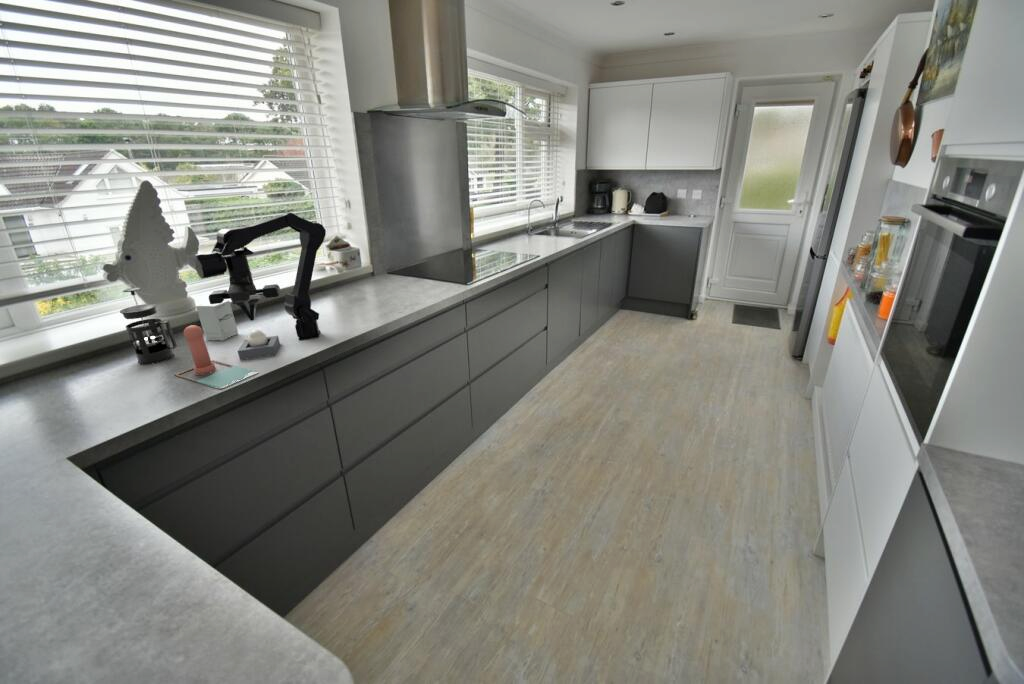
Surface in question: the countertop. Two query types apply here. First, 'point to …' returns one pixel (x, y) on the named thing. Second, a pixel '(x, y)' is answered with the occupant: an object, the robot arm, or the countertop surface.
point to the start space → (193, 368)
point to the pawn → (198, 350)
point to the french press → (147, 352)
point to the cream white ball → (257, 338)
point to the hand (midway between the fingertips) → (252, 320)
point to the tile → (225, 376)
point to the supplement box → (217, 320)
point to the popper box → (259, 348)
